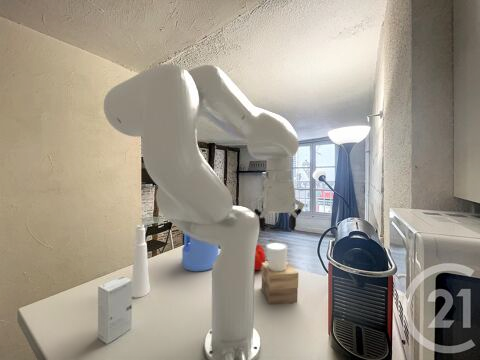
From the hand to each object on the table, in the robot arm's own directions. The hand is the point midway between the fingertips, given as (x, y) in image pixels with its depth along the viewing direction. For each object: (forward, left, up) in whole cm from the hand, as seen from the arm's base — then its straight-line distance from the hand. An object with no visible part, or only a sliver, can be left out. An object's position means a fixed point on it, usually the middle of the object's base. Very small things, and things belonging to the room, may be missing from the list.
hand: (277, 229), depth 66 cm
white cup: (0, 0, -13) cm, 13 cm away
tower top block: (0, -1, -17) cm, 17 cm away
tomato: (+20, +4, -22) cm, 30 cm away
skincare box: (-11, +44, -22) cm, 50 cm away
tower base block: (0, -1, -22) cm, 22 cm away
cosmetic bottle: (+6, +44, -22) cm, 49 cm away
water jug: (+26, +26, -22) cm, 43 cm away
